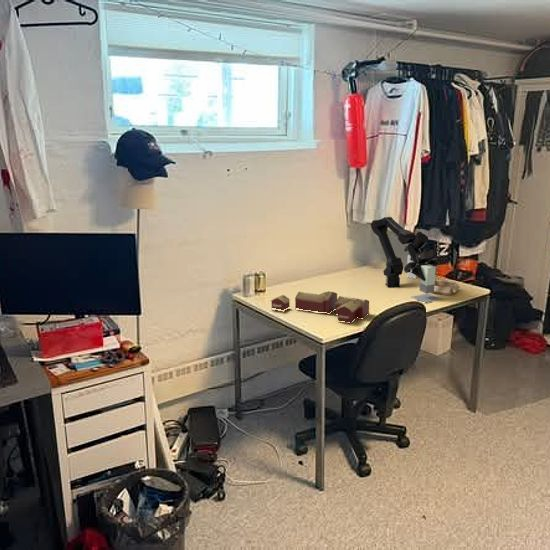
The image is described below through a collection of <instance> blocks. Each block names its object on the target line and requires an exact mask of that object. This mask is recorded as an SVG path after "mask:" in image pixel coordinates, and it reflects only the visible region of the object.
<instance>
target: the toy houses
mask: <svg viewBox="0 0 550 550" xmlns="http://www.w3.org/2000/svg"><path fill="white" fill-rule="evenodd" d="M290 302H291V299H290V297H287V296H286V295H285V294H282V295H279V296H277V297H275V298H273V299H271V300H270V303H271V309H272V308H276V309H281V310H284V309H286V308H288V307H290V304H291V303H290ZM294 303H295V306H294V307H295V308H294V309H296V308H299V309H303V310H311V311H318V312H327V313H330V312H331V311H333V310H334V309H336V310H335V315H336V314H338V316H337V321H338V320H339V321H345V322H350V323H351V322H352V321H353V320H354V319H356V318H357V317H358V318H364V317H365V316H366V315H367V314H369V315H370V300H368V299H363V298H362V299H361V298H355V297H348V296H341V295H339V296H338V293H337V292H334V291H330V290H329V291H325V292H322V293H319V294H318V293H312V292H304V291H303V292H302V291H298V292H297V294H296V295H295V298H294ZM290 308H291V307H290ZM367 316H368V315H367ZM367 316H366V317H367ZM366 317H365V318H366ZM365 318H364V319H365ZM356 320H357V319H356ZM352 323H353V322H352ZM352 323H351V324H352Z"/></svg>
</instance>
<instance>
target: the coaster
mask: <svg viewBox="0 0 550 550" xmlns="http://www.w3.org/2000/svg"><path fill="white" fill-rule="evenodd" d="M411 298H413V299H415V300H416V301H418V302H420V301H421V302H420V303H422V302H425V303H426V304H429V303H428V302H431V303H433V302H437V301H442V300H443V298H441V297H439V296H436V295H433V294H432V293H425V294H424V293H423V294H419V295H413V296H411ZM425 303H424V304H425Z"/></svg>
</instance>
